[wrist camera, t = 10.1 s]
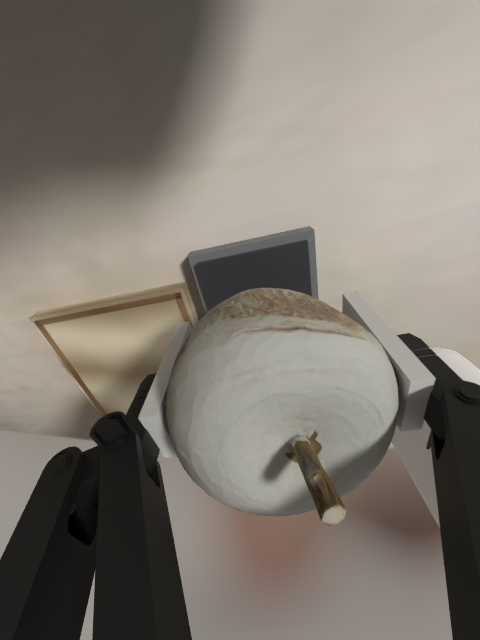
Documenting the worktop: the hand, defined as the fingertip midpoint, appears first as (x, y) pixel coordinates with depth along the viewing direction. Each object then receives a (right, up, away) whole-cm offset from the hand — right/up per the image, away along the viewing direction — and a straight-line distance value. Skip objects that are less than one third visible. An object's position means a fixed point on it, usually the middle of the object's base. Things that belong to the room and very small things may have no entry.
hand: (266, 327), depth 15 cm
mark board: (-10, -3, +7) cm, 12 cm away
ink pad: (0, +1, +4) cm, 4 cm away
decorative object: (0, 0, 0) cm, 0 cm away
